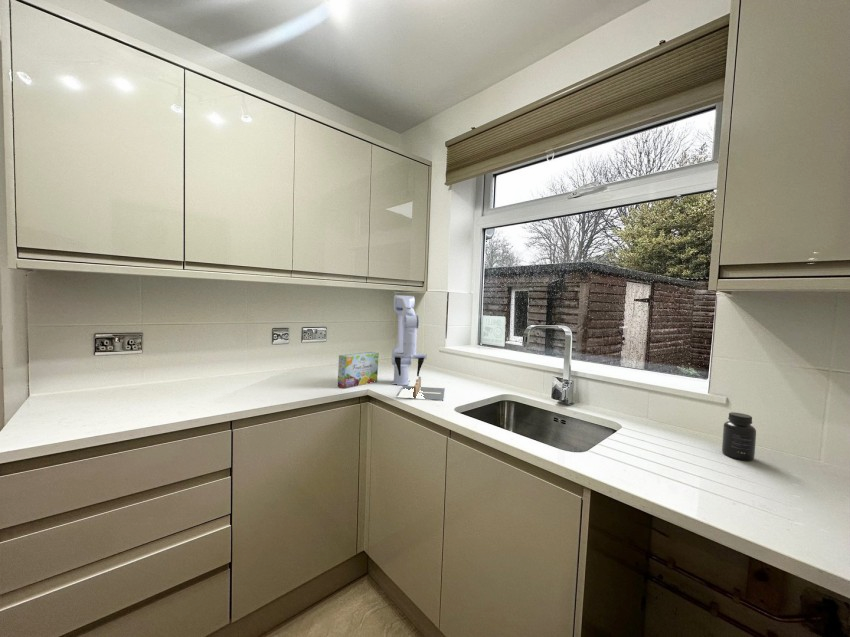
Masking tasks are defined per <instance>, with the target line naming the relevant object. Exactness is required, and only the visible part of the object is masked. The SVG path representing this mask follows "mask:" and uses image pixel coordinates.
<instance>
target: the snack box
mask: <svg viewBox="0 0 850 637" xmlns="http://www.w3.org/2000/svg"><path fill="white" fill-rule="evenodd" d="M379 355H380V354H379V352H376V351H375V352H374V351H368V352H367V351H366V352H358V353H357V352H356V353H348V354H347V353H346V354H340V355H338V370H337V371H338V372H337V387H339V388H342V389H349V388H352V387H353V386H354V387H357V386H358V385H359V386H362V384H363V385H367V384H366V383H368V384H371V383H370V382H373V383H375V382H374V381H377V382H378V374H379V373H378V372H379V371H378V370H379Z"/></svg>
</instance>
